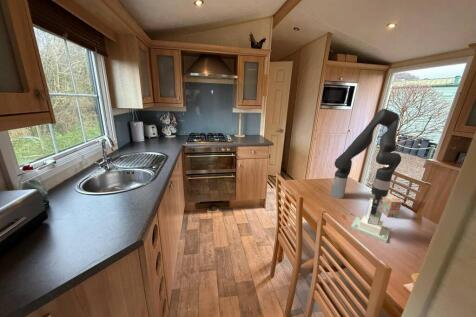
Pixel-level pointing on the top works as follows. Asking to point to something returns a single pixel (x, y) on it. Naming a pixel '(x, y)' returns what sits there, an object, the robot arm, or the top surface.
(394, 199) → the cardboard box
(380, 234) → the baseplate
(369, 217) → the white tall block
